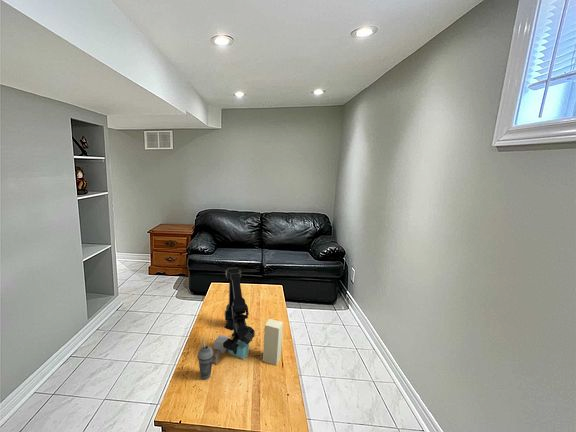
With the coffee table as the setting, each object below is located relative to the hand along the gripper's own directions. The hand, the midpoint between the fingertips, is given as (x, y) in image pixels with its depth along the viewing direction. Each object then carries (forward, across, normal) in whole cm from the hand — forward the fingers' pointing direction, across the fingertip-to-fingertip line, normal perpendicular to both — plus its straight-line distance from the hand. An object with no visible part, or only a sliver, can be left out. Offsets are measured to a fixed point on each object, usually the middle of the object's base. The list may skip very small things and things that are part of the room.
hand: (238, 351), depth 145 cm
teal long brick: (+1, 0, 0) cm, 1 cm away
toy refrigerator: (+1, +6, -18) cm, 19 cm away
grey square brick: (+1, -2, +10) cm, 10 cm away
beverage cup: (+1, -21, +3) cm, 21 cm away
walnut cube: (+1, -11, +7) cm, 13 cm away
